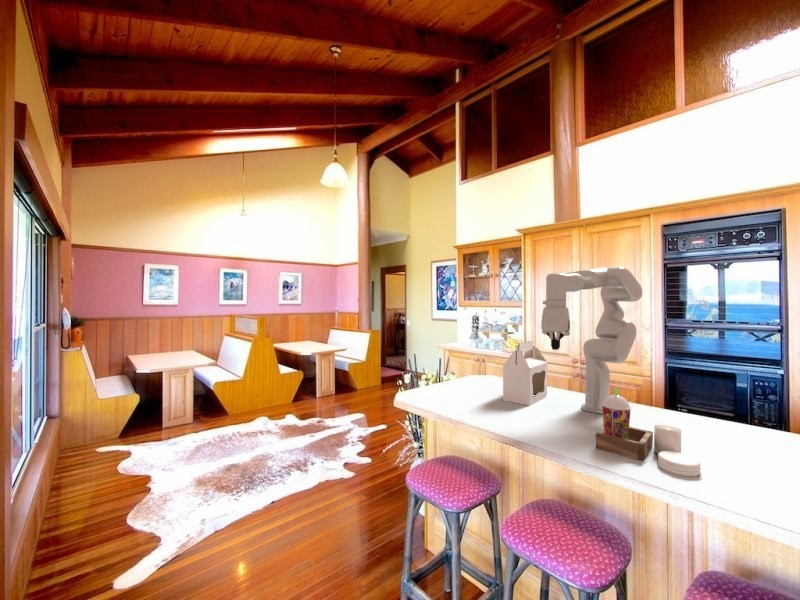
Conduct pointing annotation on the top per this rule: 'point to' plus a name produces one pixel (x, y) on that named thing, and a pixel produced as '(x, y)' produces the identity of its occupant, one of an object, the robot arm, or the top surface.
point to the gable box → (525, 375)
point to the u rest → (627, 443)
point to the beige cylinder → (667, 439)
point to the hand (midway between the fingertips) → (555, 349)
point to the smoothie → (616, 416)
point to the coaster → (679, 463)
